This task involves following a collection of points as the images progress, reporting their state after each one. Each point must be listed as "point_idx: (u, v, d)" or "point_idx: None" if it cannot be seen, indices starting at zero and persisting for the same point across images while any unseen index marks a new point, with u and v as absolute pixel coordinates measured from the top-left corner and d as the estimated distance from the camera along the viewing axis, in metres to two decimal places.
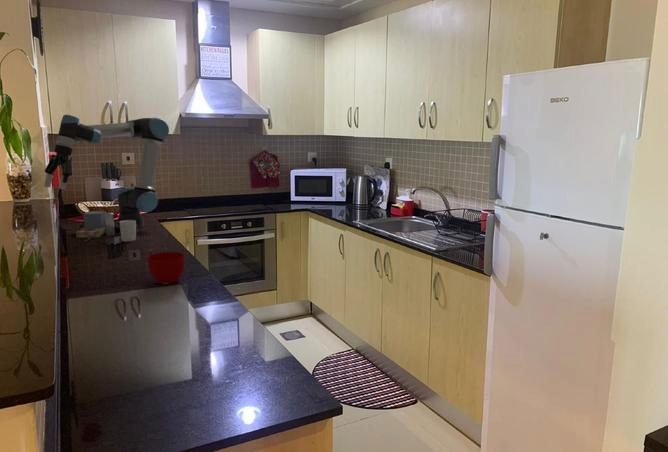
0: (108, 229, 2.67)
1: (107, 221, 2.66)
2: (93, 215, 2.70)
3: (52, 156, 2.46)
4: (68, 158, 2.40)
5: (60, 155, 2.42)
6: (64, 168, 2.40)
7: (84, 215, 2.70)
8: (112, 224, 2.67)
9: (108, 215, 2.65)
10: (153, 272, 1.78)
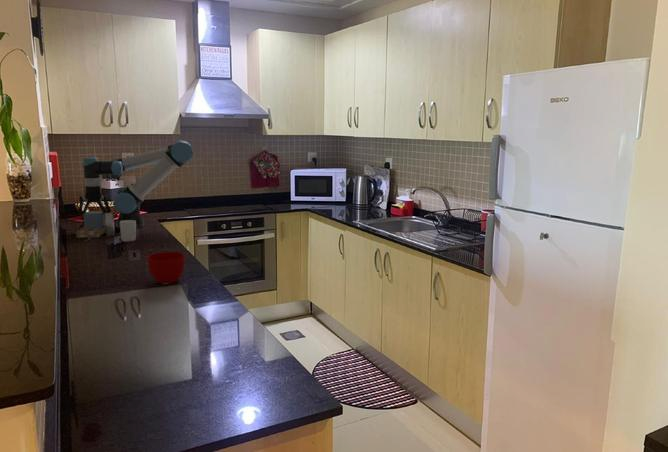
0: (108, 229, 2.67)
1: (107, 221, 2.66)
2: (93, 215, 2.70)
3: (81, 197, 2.71)
4: (106, 198, 2.74)
5: (93, 194, 2.72)
6: (103, 207, 2.74)
7: (84, 215, 2.70)
8: (112, 224, 2.67)
9: (108, 215, 2.65)
10: (153, 272, 1.78)
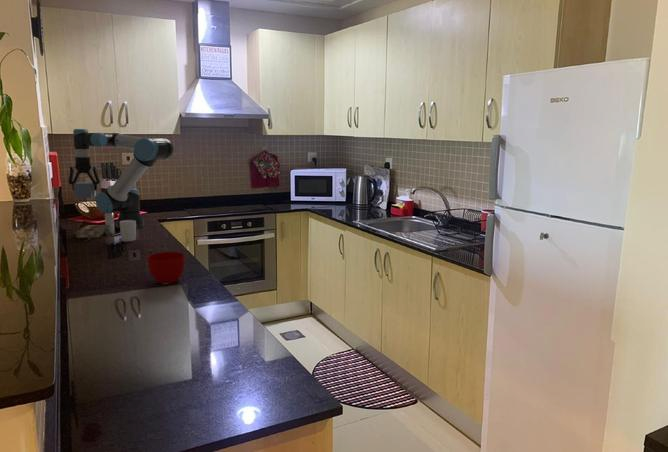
0: (108, 229, 2.67)
1: (107, 221, 2.66)
2: (83, 185, 2.79)
3: (71, 168, 2.79)
4: (95, 168, 2.82)
5: (83, 165, 2.80)
6: (92, 178, 2.83)
7: (74, 185, 2.78)
8: (112, 224, 2.67)
9: (108, 215, 2.65)
10: (153, 272, 1.78)
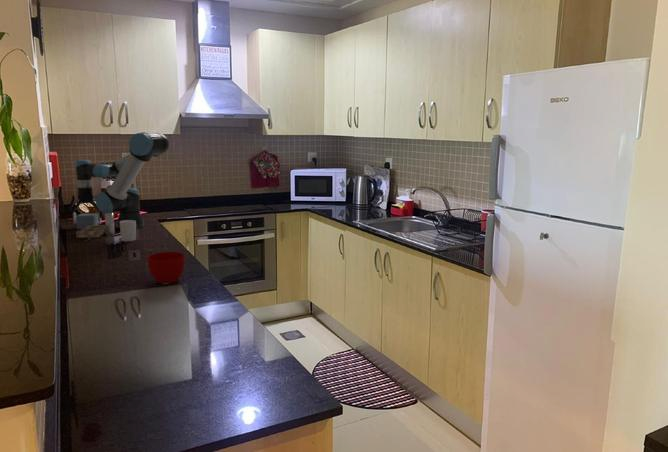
0: (108, 229, 2.67)
1: (107, 221, 2.66)
2: (85, 217, 2.82)
3: (73, 197, 2.82)
4: None
5: (86, 195, 2.83)
6: (97, 206, 2.86)
7: (77, 217, 2.81)
8: (112, 224, 2.67)
9: (108, 215, 2.65)
10: (153, 272, 1.78)
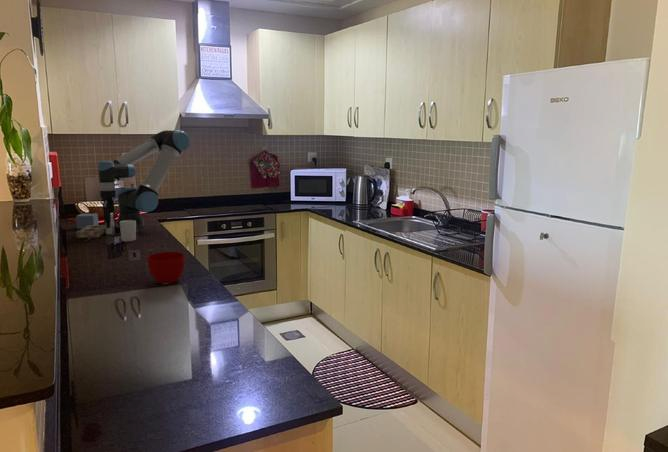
0: None
1: None
2: (85, 217, 2.82)
3: (108, 204, 2.61)
4: None
5: (110, 199, 2.67)
6: (112, 212, 2.71)
7: (77, 217, 2.81)
8: (112, 224, 2.67)
9: None
10: (153, 272, 1.78)
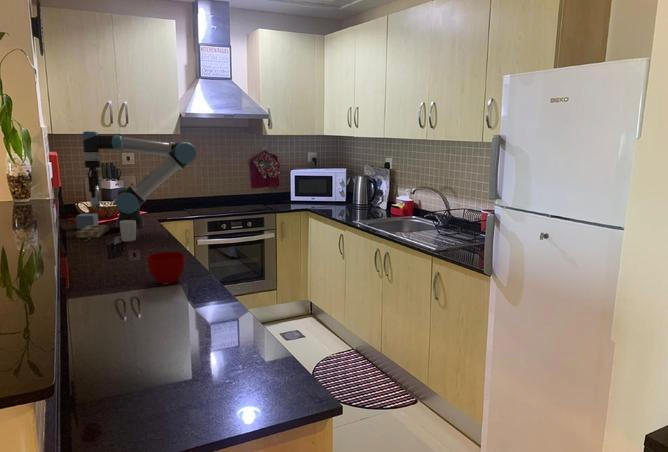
0: None
1: None
2: (85, 217, 2.82)
3: (93, 174, 2.65)
4: None
5: (95, 169, 2.70)
6: None
7: (77, 217, 2.81)
8: (97, 197, 2.71)
9: None
10: (153, 272, 1.78)
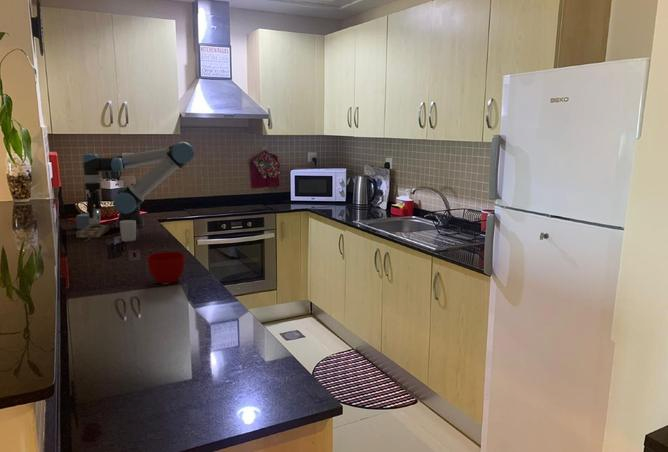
0: (93, 226, 2.74)
1: None
2: (85, 217, 2.82)
3: (92, 195, 2.67)
4: None
5: (95, 191, 2.73)
6: None
7: (77, 217, 2.81)
8: (97, 221, 2.74)
9: None
10: (153, 272, 1.78)
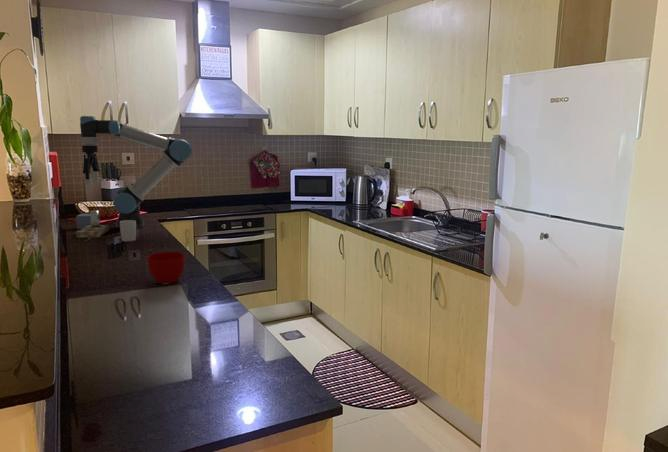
0: (93, 226, 2.74)
1: (92, 219, 2.73)
2: (85, 217, 2.82)
3: (89, 156, 2.63)
4: None
5: (92, 154, 2.70)
6: None
7: (77, 217, 2.81)
8: (97, 221, 2.74)
9: (93, 213, 2.72)
10: (153, 272, 1.78)
